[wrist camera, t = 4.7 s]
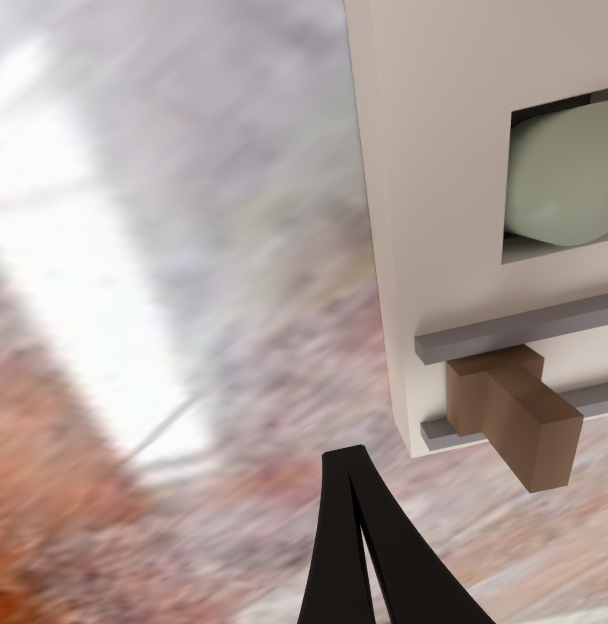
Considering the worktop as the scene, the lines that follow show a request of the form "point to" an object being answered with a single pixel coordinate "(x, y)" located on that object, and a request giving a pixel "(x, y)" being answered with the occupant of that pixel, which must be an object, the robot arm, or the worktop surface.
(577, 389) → the control panel
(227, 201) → the worktop surface
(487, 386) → the walnut slider
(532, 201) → the sage button
